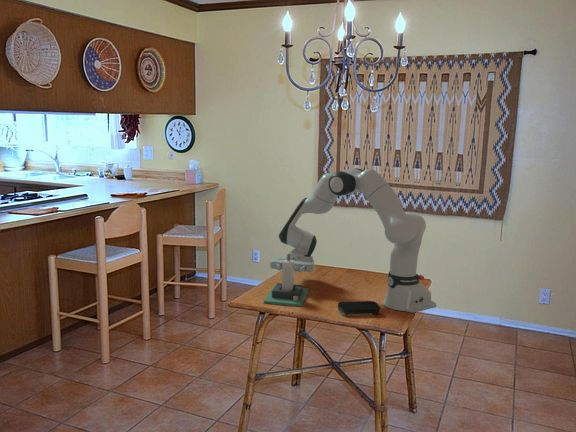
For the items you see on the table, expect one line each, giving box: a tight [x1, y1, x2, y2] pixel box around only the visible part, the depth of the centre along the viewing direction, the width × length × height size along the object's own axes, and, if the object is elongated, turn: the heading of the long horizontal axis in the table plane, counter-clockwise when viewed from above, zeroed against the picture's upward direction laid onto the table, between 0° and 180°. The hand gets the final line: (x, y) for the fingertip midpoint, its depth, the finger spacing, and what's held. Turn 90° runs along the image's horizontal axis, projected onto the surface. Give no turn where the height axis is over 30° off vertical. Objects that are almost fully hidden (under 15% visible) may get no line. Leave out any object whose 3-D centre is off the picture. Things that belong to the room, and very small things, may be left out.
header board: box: [263, 282, 310, 307], centre depth 229 cm, size 22×16×4 cm
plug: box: [281, 253, 295, 292], centre depth 227 cm, size 5×4×18 cm
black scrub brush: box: [337, 300, 381, 317], centre depth 212 cm, size 16×8×4 cm, turn 97°
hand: (289, 269), depth 231 cm, fingers open, 8 cm apart
